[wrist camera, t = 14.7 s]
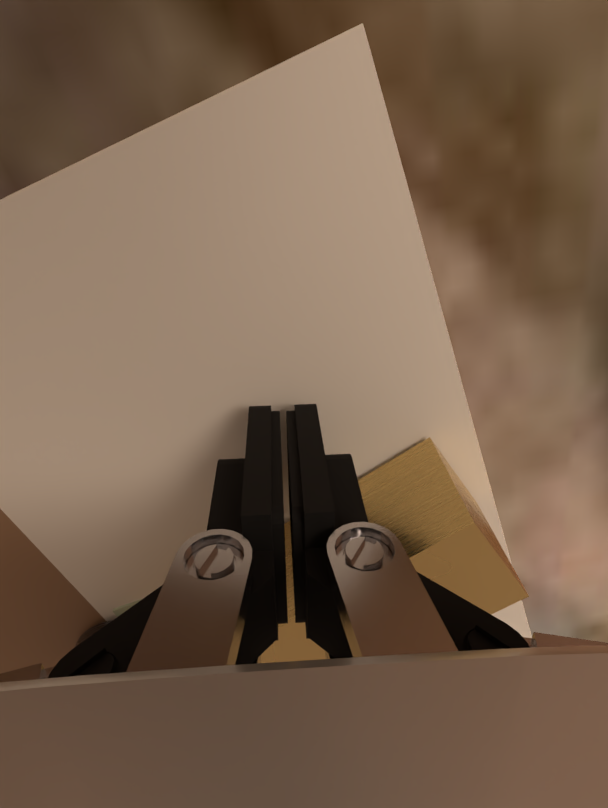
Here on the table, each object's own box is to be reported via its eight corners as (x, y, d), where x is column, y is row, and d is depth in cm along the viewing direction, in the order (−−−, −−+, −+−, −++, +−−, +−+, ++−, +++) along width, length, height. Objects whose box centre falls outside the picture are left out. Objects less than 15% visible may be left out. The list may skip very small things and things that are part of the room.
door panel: (352, 34, 10) (411, -33, 6) (519, 614, 19) (587, 748, 15) (-536, 465, 13) (-894, 614, 9) (-36, 783, 22) (-104, 929, 18)
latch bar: (132, 700, 17) (102, 826, 14) (50, 651, 16) (-3, 779, 13) (483, 511, 14) (544, 620, 11) (422, 426, 13) (472, 525, 9)
